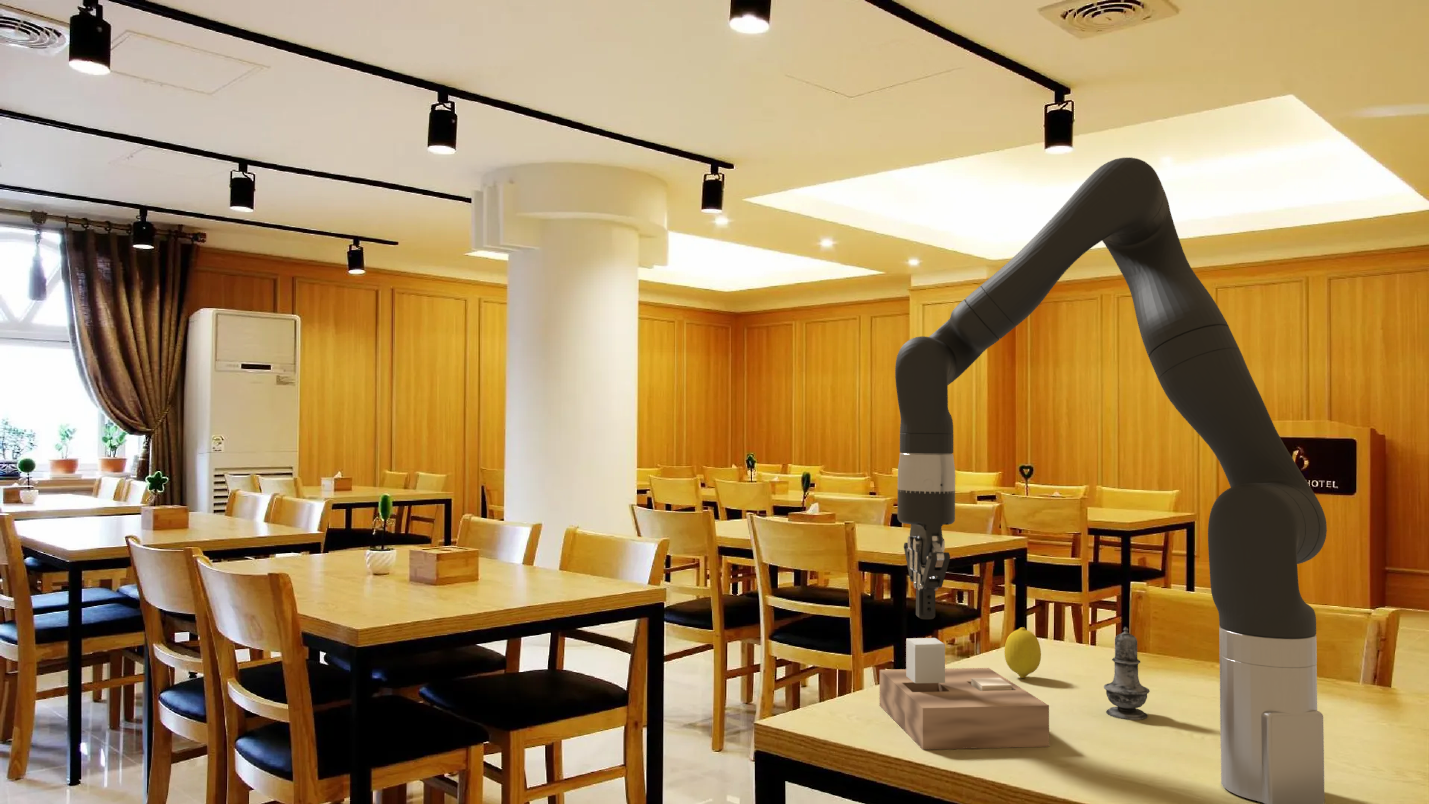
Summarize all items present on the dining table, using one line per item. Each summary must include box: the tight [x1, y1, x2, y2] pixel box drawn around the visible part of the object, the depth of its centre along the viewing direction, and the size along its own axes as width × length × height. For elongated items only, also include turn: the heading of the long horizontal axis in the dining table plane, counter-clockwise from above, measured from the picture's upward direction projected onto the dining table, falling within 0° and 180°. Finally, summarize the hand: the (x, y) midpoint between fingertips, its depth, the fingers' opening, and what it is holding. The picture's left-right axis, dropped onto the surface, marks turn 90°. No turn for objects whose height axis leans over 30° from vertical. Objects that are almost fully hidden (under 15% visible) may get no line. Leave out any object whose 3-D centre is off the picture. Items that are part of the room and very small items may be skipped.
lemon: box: [1003, 626, 1042, 679], centre depth 157 cm, size 6×6×8 cm
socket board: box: [879, 667, 1050, 750], centre depth 132 cm, size 20×16×5 cm
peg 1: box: [905, 637, 946, 683], centre depth 131 cm, size 4×4×5 cm
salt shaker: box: [1103, 626, 1150, 721], centre depth 137 cm, size 6×6×12 cm
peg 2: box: [971, 678, 1012, 691], centre depth 132 cm, size 4×4×5 cm
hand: (925, 617), depth 132 cm, fingers closed
